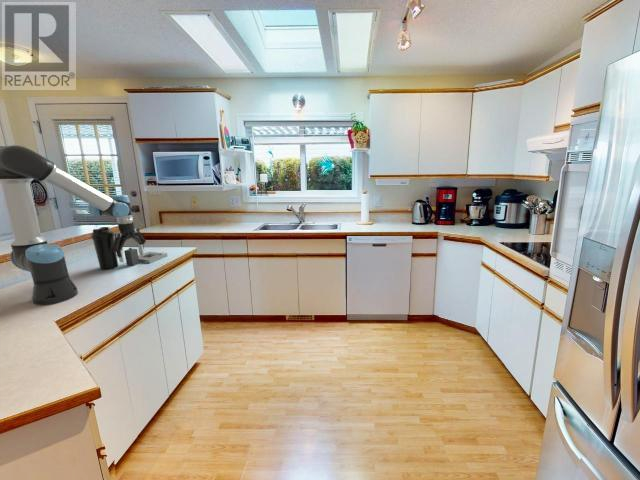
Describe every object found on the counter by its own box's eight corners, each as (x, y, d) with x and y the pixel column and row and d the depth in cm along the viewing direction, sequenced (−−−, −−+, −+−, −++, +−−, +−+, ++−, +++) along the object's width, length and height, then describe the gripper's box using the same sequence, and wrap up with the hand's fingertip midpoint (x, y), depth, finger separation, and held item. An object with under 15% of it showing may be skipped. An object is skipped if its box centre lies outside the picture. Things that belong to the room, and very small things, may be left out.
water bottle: (124, 264, 174) (116, 226, 168) (110, 270, 164) (102, 230, 158) (108, 264, 175) (100, 226, 169) (93, 270, 165) (85, 230, 160)
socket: (149, 263, 176) (149, 259, 175) (130, 261, 179) (130, 257, 179) (167, 256, 189) (166, 252, 188) (149, 254, 192) (148, 250, 192)
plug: (133, 266, 171) (130, 249, 169) (126, 265, 173) (123, 248, 170) (139, 263, 176) (136, 247, 173) (133, 263, 177) (130, 246, 174)
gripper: (110, 227, 155) (118, 266, 161) (148, 218, 178) (154, 252, 184) (99, 227, 157) (107, 264, 163) (138, 218, 180) (144, 251, 186)
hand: (132, 258), depth 173 cm, fingers open, 13 cm apart
